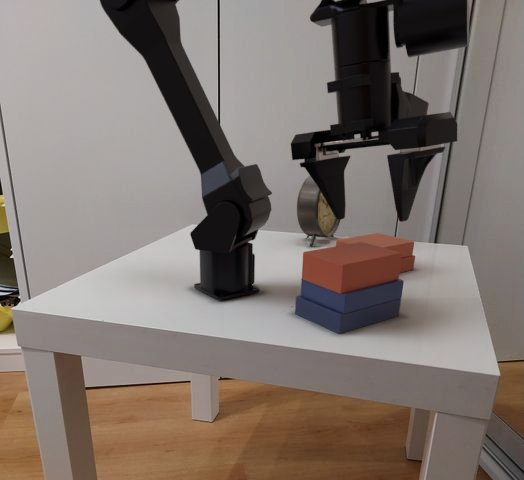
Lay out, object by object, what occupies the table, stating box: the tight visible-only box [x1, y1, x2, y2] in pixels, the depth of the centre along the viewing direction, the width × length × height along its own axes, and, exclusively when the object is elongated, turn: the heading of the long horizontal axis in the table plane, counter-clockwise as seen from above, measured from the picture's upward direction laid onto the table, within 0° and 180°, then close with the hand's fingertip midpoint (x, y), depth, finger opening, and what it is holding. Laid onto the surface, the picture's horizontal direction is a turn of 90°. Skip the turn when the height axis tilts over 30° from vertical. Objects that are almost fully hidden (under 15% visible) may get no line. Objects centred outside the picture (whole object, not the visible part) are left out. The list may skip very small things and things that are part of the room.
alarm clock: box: [296, 175, 341, 248], centre depth 94 cm, size 11×5×16 cm, turn 148°
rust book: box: [301, 242, 402, 294], centre depth 61 cm, size 10×6×3 cm
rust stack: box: [335, 232, 416, 274], centre depth 81 cm, size 10×8×4 cm
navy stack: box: [294, 278, 405, 335], centre depth 62 cm, size 10×8×4 cm
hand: (370, 220), depth 60 cm, fingers open, 9 cm apart
